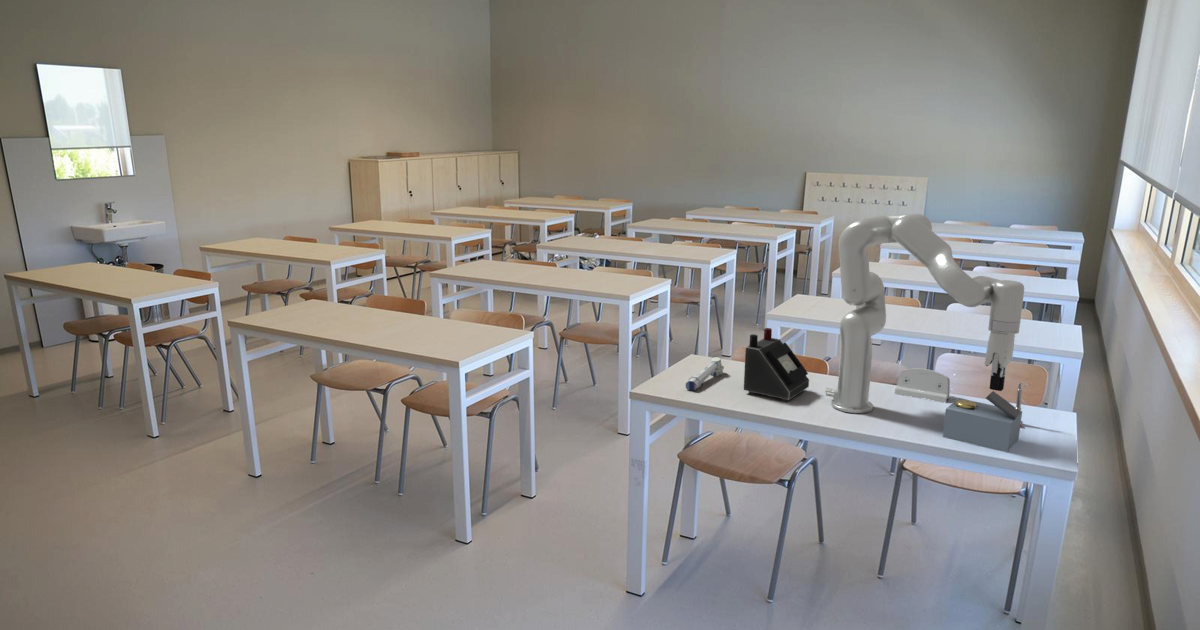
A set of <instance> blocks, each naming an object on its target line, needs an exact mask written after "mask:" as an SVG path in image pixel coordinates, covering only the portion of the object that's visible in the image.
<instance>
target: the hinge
mask: <svg viewBox="0 0 1200 630" xmlns="http://www.w3.org/2000/svg"><path fill="white" fill-rule="evenodd" d="M899 373H900V374H899V376H898V381H897V382H896V386H895V390H894V394H895V395H900V396H904V395H906V396H905V397H910V396H912V397H911V398H915V397H920V398H919V399H921V398H926V399H925V400H927V399H930V400H929V401H932V400H934V401H933V402H939V403H944V402H945V404H946V403H947V400H950V383H951V382H950V381H951V380H950V378H949V377H948V376H947V375H945V374H943V373H940V372H938V371H936V370H932V369H928V368H922V367H920V368H919V367H918V368H917V367H915V368H913V367H912V368H906V369H902V370H901V371H900V372H899ZM918 390H920V391H918ZM921 391H924V392H921Z"/></svg>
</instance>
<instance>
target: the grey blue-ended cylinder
mask: <svg viewBox="0 0 1200 630" xmlns="http://www.w3.org/2000/svg"><path fill="white" fill-rule="evenodd" d="M724 368H725V366H724V364H722V359H721V358H720V357H718V356H716V357H713V358H711V360H710V362H709V364H707V365H706V366H705V367H703V368H702V369H701V370H700V371H699V372H697V373H696V374H695V375H692V376H691V377H689V379H688V381H687V382H686V383H685V388H686V390H687V391H689V390H690V392H695V391H696V390H697V389H699V388H700V387H701V386H702V384H703V383H704V382H705V381H706V380H707V379H708V378H709V377H710V376H711V377H712V376H713V377H719V376H723V374H724Z"/></svg>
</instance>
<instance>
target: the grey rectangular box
mask: <svg viewBox="0 0 1200 630" xmlns="http://www.w3.org/2000/svg"><path fill="white" fill-rule="evenodd" d="M958 400H966V399H965V398H957V399H956V400H955V401H953V402H952V403H951V404H950V405H949V406H948V407H946V408H945V413H944V414H945V415H944V420H943V421H944V423H943V430H942V431H943V432H942V437H943V438H946V439H951V440H955V441H957V442H958V441H959V442H962V443H963V442H964V443H967V444H972V445H976V446H979V447H984V448H987V449H991V450H992V449H993V450H996V451H1000V452H1005V453H1009V451H1010V450H1011V449H1012V448H1013V446H1014V445H1016V443H1017V442H1018V441H1019V439H1020V431H1021V427H1020V425H1021V426H1022V416H1023V411H1022V410H1021V413H1020V414H1019V415H1018V417H1017V418H1016V419H1015V420H1013V419H1012V418H1011V417H1009V416H1008V415H1007V414H1006V413H1004V412H1003V411H1002V410H1000V409H999V408H998V407H996V406H995V405H994V404H990V403H983V402H979V401H975V400H969V399H968V400H969V401H972V402H975V403H976V408H975V409H972V410H969V409H963V408H960V407H957V406H956V402H957V401H958Z"/></svg>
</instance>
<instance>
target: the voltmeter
mask: <svg viewBox="0 0 1200 630" xmlns="http://www.w3.org/2000/svg"><path fill="white" fill-rule="evenodd" d="M763 330H764V333H763V338H762V339H760V340H758V338H759V337H758V334H753V333H752V334H750V335H749V345H747V346H745V348H744V349H745V351H744V353H745V354H744V370H743V371H744V372H743V373H744V374H743V391H747V392H748V394H750V395H755V394H756V393H757V394H761V395H766V396H769V397H775V398H779V399H781V401H782V402H784V403H785V402H786V403H787V402H789V401H790V400H791V399H792V398H795V396H797V395H799V394H800V393H803V392H804V391H805V390H807V389H808V388H809V386H810V379H809V378H808V376H807V375H809V372H808V371H807V370H806V368H805V366H804V365H803V364H802V362H800V360H799V359H798V357H797V356H796V354H795V353H794V352H793V351H792V349H791V348H790V347H789V345H788V344H787V342H782V340H781V339H780V338H774V337H772V330H773V329H772V328H769V327H766V328H764V329H763Z"/></svg>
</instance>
